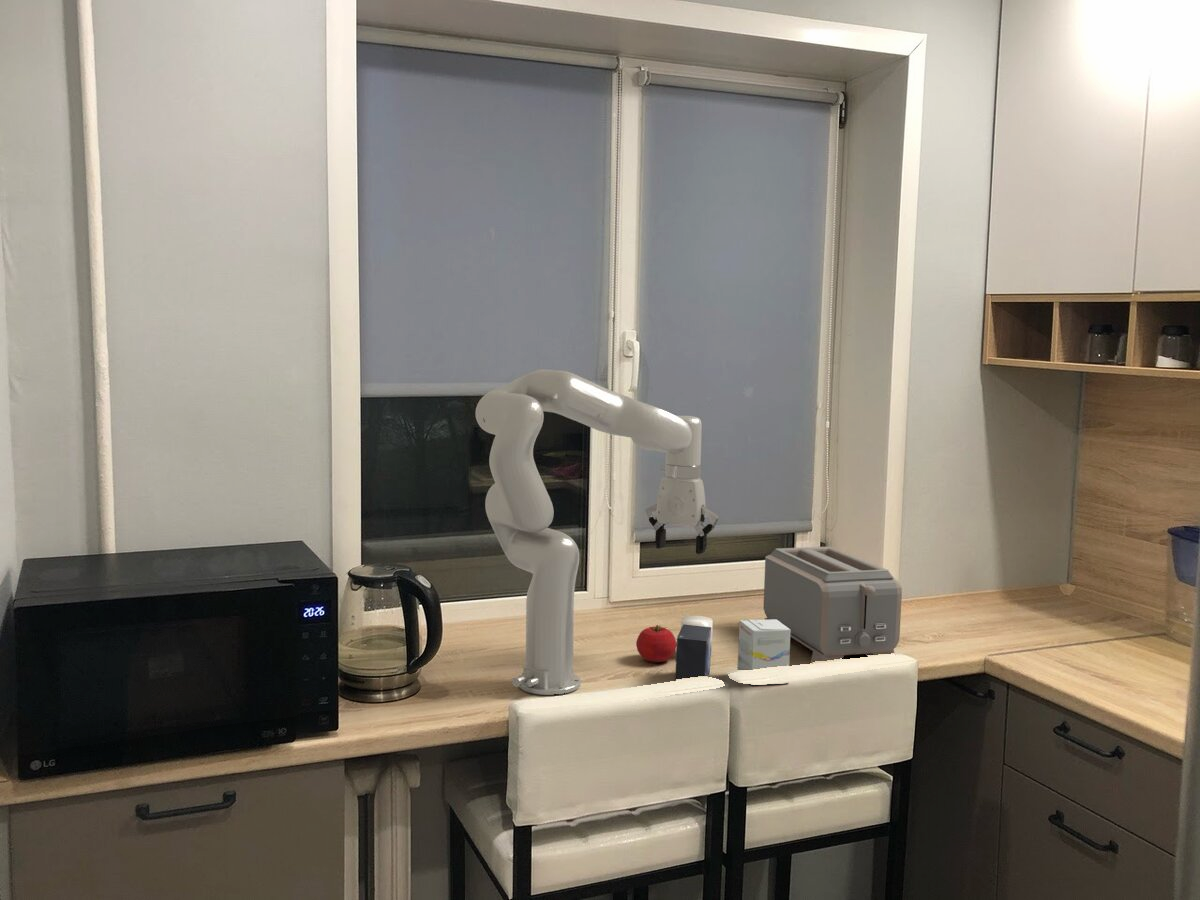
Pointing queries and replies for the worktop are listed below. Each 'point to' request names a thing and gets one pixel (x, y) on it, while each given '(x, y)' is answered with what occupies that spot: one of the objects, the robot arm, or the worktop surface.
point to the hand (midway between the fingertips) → (680, 550)
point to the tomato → (656, 644)
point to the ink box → (763, 644)
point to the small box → (693, 651)
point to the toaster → (833, 601)
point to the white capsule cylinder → (698, 623)
